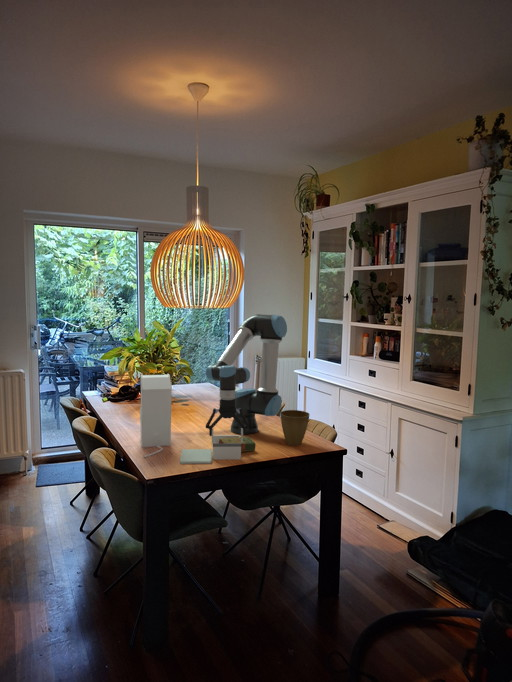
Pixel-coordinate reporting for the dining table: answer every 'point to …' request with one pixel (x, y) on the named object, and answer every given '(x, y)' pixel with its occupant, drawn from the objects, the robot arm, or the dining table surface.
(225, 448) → the rack
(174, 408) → the dining table surface
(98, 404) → the dining table surface
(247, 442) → the carton
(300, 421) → the plant pot
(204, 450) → the plate
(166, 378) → the tall slanted-top box
